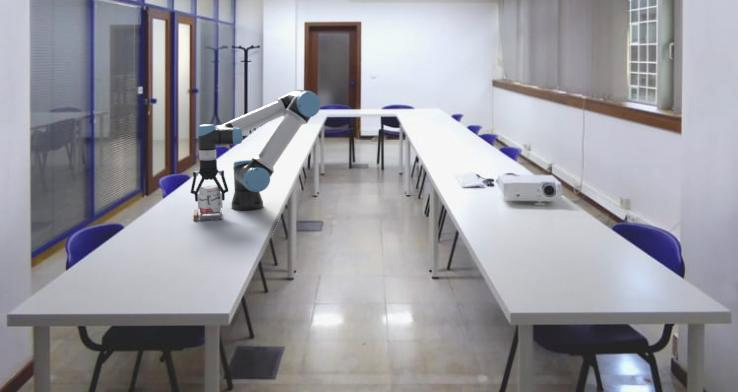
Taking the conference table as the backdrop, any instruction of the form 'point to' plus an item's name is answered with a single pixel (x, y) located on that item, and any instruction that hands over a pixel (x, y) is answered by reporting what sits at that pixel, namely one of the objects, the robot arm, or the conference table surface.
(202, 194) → the ink box
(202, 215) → the frame
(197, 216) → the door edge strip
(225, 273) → the conference table surface
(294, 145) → the conference table surface
